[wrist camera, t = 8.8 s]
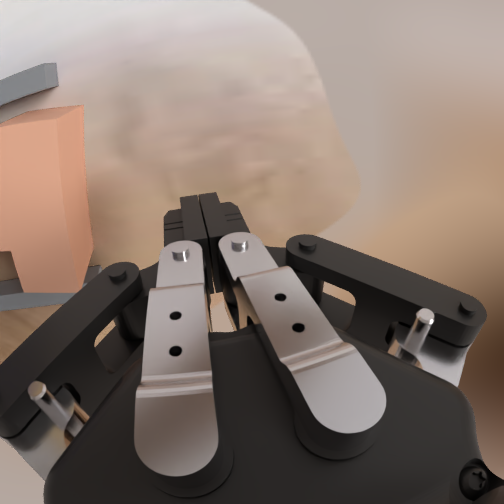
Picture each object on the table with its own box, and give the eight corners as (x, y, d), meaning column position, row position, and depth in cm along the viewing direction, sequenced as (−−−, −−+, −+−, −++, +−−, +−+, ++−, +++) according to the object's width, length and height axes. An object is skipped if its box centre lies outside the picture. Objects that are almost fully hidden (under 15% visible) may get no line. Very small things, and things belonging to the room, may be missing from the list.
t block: (-16, 250, 18) (-43, 290, 14) (-40, 125, 13) (-82, 146, 9) (93, 247, 21) (80, 292, 17) (83, 104, 16) (56, 118, 12)
